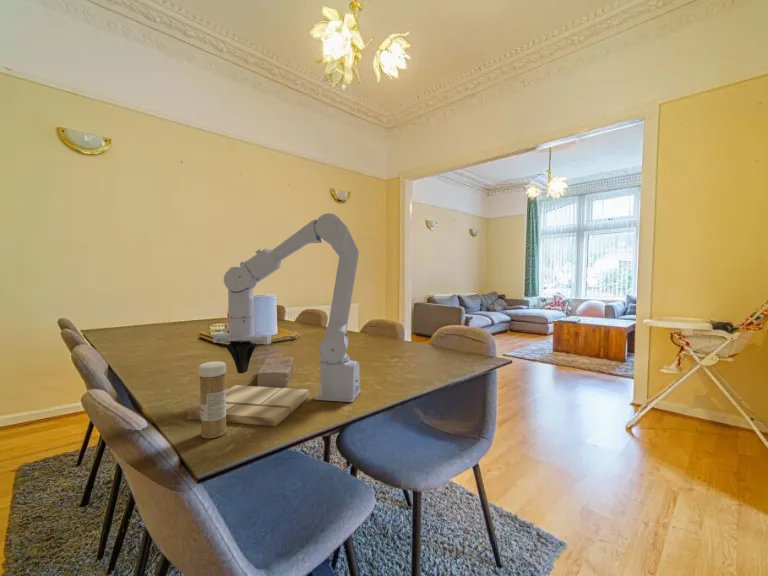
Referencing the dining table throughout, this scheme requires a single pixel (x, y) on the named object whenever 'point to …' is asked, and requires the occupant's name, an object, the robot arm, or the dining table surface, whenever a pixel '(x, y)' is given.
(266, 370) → the brick
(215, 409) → the sprinkles bottle
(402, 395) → the dining table surface
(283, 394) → the plank
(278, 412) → the floor row
